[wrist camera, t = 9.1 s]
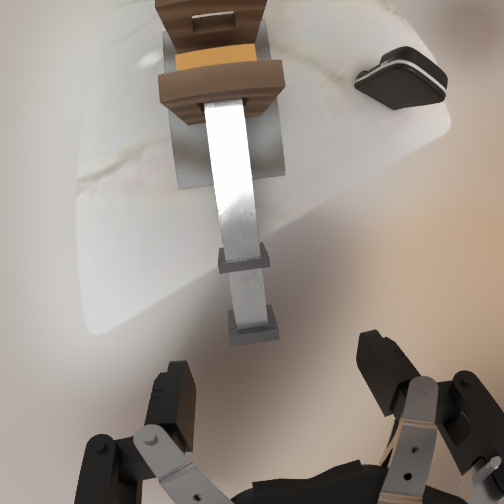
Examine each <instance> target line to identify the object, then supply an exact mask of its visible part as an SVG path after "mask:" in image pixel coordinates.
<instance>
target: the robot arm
mask: <svg viewBox="0 0 504 504" xmlns="http://www.w3.org/2000/svg"><path fill="white" fill-rule="evenodd" d="M356 361H357V366H358V368H359V370H360V372H361V374H362V376H363V377H364V379H365V381H366V383H367V385H368V386H369V388H370V390H371V392H372V394H373V396H374V397H375V399H376V401H377V403H378V405H379V407H380V408H381V410H382V412H383V414H384V416H385V417H386V416H389V415H391V414H393V415H394V417H395V420H394V422H393V426H392V429H391V432H390V436H389V439H388V442H387V445H386V448H385V451H384V454H383V456H382V458H381V460H380V463H379V465H361V463H360V460H356V461H352V462H349V463H346V464H342V465H339V466H336V467H333V468H331V469H329V470H327V471H325V472H323V473H321V474H319V475H317V476H315V477H312V478H310V479H273V480H266V481H258V482H252V484H253V488H251V489H248V490H245V491H243V492H241V493H239V494H237V495H236V496H234V497H233V498H231V499H229V498H228V497H226V496H225V495H224V494H223V493H222V492H221V491H220V490H219V489H218V488H217V487H216V486H215V485H214V484H213V483H212V482H211V481H210V480H209V479H208V478H207V477H206V476H205V475H204V474H203V473H202V472H201V471H200V470H199V469H198V468H197V466H196V465H195V464H193V463H192V462H191V461H190V460H189V459H188V458H187V457H186V456H185V452H192V451H193V437H194V420H195V405H196V387H195V382H194V380H193V377H192V374H191V371H190V368H189V365H188V363H187V361H186V360H183V361H170V362H169V366H168V371H167V372H166V373H160V374H159V375H158V377H157V378H156V379H155V381H154V384H153V388H152V390H153V391H152V393H151V398H150V401H149V406H148V411H147V415H146V420H145V424H144V426H143V427H141V428H139V429H138V430H137V431H136V433H135V435H134V436H132V437H128V438H123V439H118V440H113V438H111V437H110V436H109V435H106V434H98V435H95V436H93V437H92V438H91V439H90V440H89V441H88V443H87V445H86V449H85V453H84V457H83V462H82V466H81V470H80V475H79V480H78V485H77V490H76V496H75V502H74V504H141V500H142V482H143V480H146V479H151V478H156V477H157V478H158V480H159V483H160V485H161V486H162V487H163V489H164V490H165V491H166V492H167V494H168V495H169V496H170V498H171V499H172V500H173V501H174V502H175V504H497V503H498V502H500V501H501V500H503V499H504V413H503V411H502V410H501V408H500V407H499V405H498V404H497V403H496V401H495V400H494V399H493V397H492V396H491V395H490V393H489V392H488V391H487V389H486V388H485V387H484V386H483V384H482V383H481V381H480V380H479V379H478V377H476V375H475V374H474V373H472V372H470V371H459V372H458V373H456V374H455V376H454V378H453V380H451V381H444V382H436V381H435V380H434V379H432V378H430V377H428V376H421V375H420V374H419V372H418V371H417V370H416V368H415V367H414V366H413V364H412V363H411V362H410V360H409V359H408V358H407V356H405V354H404V353H403V352H402V350H401V349H400V348H399V346H398V345H397V344H396V342H394V341H393V340H391V339H389V338H388V337H385V338H382V336H381V335H380V334H379V332H378V331H377V330H375V329H374V330H371V331H367V332H363V333H360V336H359V342H358V349H357V355H356ZM463 413H464V414H463ZM465 416H466V417H465ZM466 418H467V419H468V420H467V419H466ZM468 421H469V422H468ZM437 429H438V430H439V432H440V433H441V435H442V437H443V439H444V441H445V443H446V444H447V447H448V449H449V450H450V452H451V454H452V456H453V458H454V460H455V462H456V464H457V466H458V468H459V471H460V473H461V475H462V477H461V480H460V483H459V493H460V494H461V495H460V497H457V496H455V495H452V494H449V493H446V492H443V491H440V490H437V489H435V488H432V487H430V486H427V485H426V482H427V479H428V475H429V471H430V467H431V462H432V458H433V453H434V448H435V442H436V437H437Z"/></svg>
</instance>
